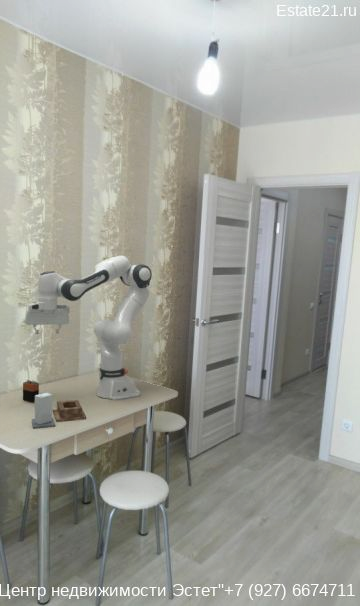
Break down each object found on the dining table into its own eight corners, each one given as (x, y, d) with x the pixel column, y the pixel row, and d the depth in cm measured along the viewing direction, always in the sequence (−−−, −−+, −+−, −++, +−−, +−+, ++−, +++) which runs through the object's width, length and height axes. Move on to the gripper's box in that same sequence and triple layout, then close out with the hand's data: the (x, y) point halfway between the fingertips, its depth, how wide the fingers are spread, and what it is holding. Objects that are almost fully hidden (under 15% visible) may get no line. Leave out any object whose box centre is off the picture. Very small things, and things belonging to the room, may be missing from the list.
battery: (32, 403, 219) (32, 383, 218) (22, 400, 222) (22, 380, 221) (39, 400, 223) (39, 381, 222) (28, 398, 226) (29, 378, 225)
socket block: (81, 409, 213) (81, 399, 213) (86, 419, 202) (86, 408, 201) (52, 411, 209) (53, 401, 208) (56, 422, 197) (56, 410, 196)
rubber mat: (52, 418, 200) (53, 417, 200) (55, 426, 192) (55, 424, 192) (31, 420, 196) (31, 419, 196) (33, 428, 188) (33, 426, 188)
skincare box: (46, 418, 198) (47, 391, 196) (52, 421, 195) (52, 394, 193) (33, 422, 193) (34, 394, 192) (39, 425, 190) (39, 397, 189)
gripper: (68, 304, 223) (68, 331, 224) (25, 304, 215) (24, 332, 217) (70, 306, 217) (70, 334, 218) (25, 306, 209) (25, 335, 211)
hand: (47, 333), depth 217 cm, fingers open, 8 cm apart
